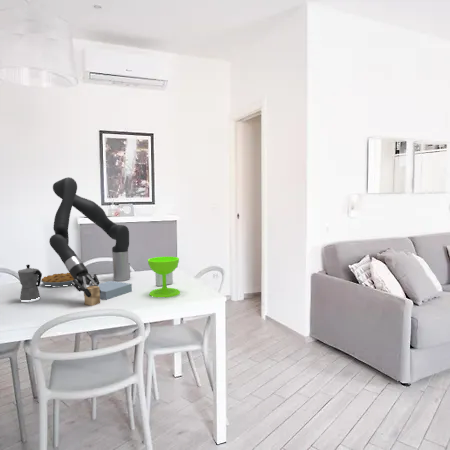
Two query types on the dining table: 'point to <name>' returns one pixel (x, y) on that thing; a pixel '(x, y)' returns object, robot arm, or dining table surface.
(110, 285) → the block
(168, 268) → the wineglass
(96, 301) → the oak block
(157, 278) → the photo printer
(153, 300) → the dining table surface
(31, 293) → the coffeepot
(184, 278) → the dining table surface
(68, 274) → the pie
